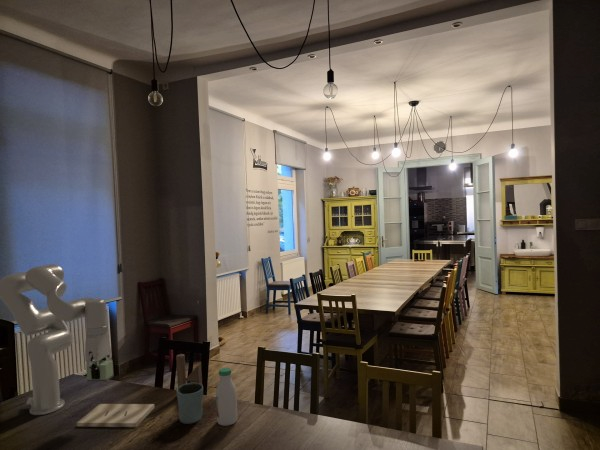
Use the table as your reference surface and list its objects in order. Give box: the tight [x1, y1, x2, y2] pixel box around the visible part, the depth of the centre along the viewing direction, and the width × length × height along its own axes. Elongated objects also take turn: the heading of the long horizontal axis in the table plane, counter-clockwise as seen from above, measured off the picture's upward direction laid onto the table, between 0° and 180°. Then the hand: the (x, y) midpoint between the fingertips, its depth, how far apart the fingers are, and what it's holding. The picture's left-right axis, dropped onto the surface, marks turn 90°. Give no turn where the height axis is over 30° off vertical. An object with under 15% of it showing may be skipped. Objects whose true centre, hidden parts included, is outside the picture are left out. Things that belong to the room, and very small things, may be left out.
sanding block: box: [85, 360, 114, 383], centre depth 161 cm, size 8×5×6 cm, turn 84°
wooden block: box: [175, 353, 203, 393], centre depth 177 cm, size 4×11×18 cm, turn 81°
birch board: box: [76, 403, 155, 428], centre depth 162 cm, size 24×15×2 cm, turn 84°
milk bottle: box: [215, 367, 239, 427], centre depth 154 cm, size 8×8×20 cm
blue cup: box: [176, 382, 204, 425], centre depth 158 cm, size 10×10×12 cm
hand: (100, 375), depth 161 cm, fingers closed on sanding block, 5 cm apart
